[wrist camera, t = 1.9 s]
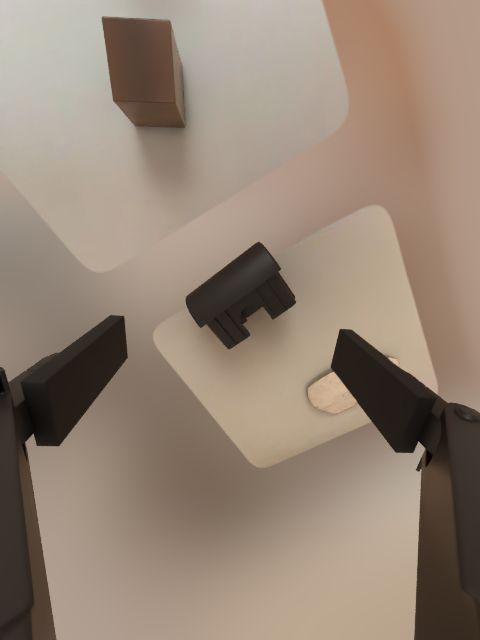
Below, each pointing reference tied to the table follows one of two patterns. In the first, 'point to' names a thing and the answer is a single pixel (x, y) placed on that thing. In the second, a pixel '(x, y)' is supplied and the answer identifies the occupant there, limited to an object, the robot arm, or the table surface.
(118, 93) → the walnut block middle
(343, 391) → the stone
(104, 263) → the table surface
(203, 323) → the end cap
